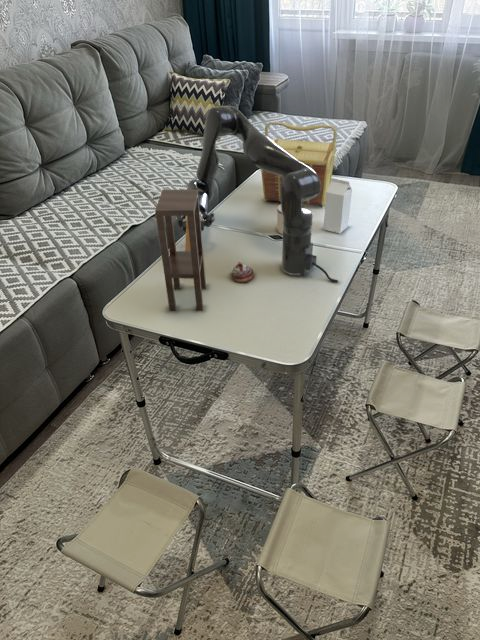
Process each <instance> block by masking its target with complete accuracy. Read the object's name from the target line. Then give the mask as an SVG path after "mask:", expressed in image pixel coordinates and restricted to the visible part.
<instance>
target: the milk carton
mask: <svg viewBox="0 0 480 640" xmlns="http://www.w3.org/2000/svg"><path fill="white" fill-rule="evenodd" d="M352 192H353V188H352V186H351V185H350V181H348V180H344V179H339V178H335V177H331V182H330V184H329V187H328V189H327V191H326V202H325V205H324V216H323V227H322V228H323V230H324V231H329V232H332V233H335V234H342V232H343V231H345V230H346V229H347V228H348V227H349V221H350V210H351V204H352V203H351V202H352V194H353V193H352Z"/></svg>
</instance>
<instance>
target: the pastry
mask: <svg viewBox="0 0 480 640" xmlns="http://www.w3.org/2000/svg"><path fill="white" fill-rule="evenodd" d="M230 277H231V279H232V280H233V281H234V282H237V283H249V282H250V281H252V279H253V278H254V277H255V271H254V268H252V267H251V266H248V265H246V264H244V263H242V262H240V261H239V262H237V264H236V265H235V266H234V267H233V270H232V272H231V274H230Z"/></svg>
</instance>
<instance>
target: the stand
mask: <svg viewBox="0 0 480 640" xmlns="http://www.w3.org/2000/svg"><path fill="white" fill-rule="evenodd" d="M154 212H155V219H156V225H157V232H158V233H157V234H158V240H159V241H158V242H159V247H160V254H161V261H162V269H163V275H164V282H165V288H166V295H167V302H168V310H169V312H175V311H177V304H176V295H175V290H180V289H181V279H193V288H194V297H195V306H196V311H198V312H199V311H204V301H203V300H204V299H203V291H202V290H204V289H205V290H206V287H207V284H206V283H207V281H206V269H205V259H204V248H203V234H202V232H201V222H200V210H199V198H198V190H187V189H162V190H161V193H160V196H159V199H158V201H157V205H156V207H155V210H154ZM176 216H187V220H188V229H189V239H190V249H191V251H185V250H177V245H176V237H175V229H174V221H173V217H176Z"/></svg>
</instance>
